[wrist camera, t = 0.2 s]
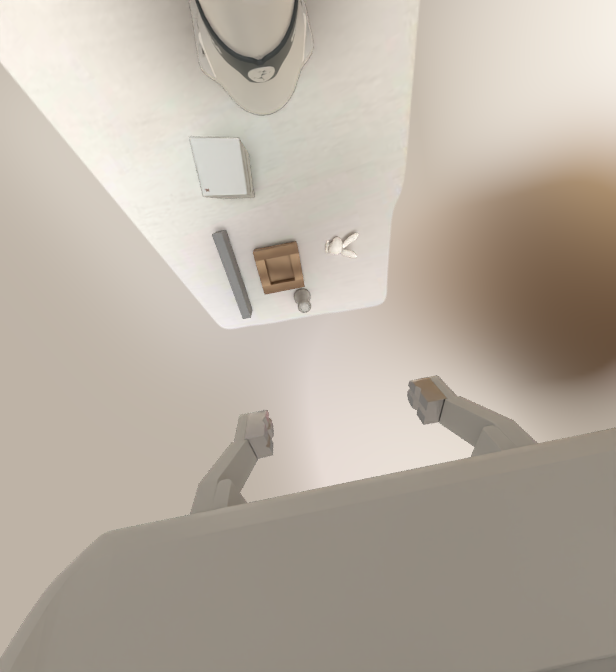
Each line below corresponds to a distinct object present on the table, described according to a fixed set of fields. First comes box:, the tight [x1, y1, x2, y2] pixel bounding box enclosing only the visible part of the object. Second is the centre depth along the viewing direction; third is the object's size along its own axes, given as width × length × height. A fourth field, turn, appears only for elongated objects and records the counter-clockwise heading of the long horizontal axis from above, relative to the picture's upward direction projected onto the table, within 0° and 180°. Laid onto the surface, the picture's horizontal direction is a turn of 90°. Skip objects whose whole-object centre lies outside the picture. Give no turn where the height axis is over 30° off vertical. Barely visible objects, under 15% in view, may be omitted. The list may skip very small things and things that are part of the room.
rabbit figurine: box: [325, 233, 359, 258], centre depth 51 cm, size 6×4×8 cm
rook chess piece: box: [294, 289, 311, 313], centre depth 55 cm, size 4×4×8 cm
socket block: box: [253, 241, 305, 294], centre depth 52 cm, size 10×10×4 cm
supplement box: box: [189, 137, 255, 198], centre depth 38 cm, size 7×7×13 cm
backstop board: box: [212, 230, 252, 319], centre depth 52 cm, size 20×2×4 cm, turn 9°
